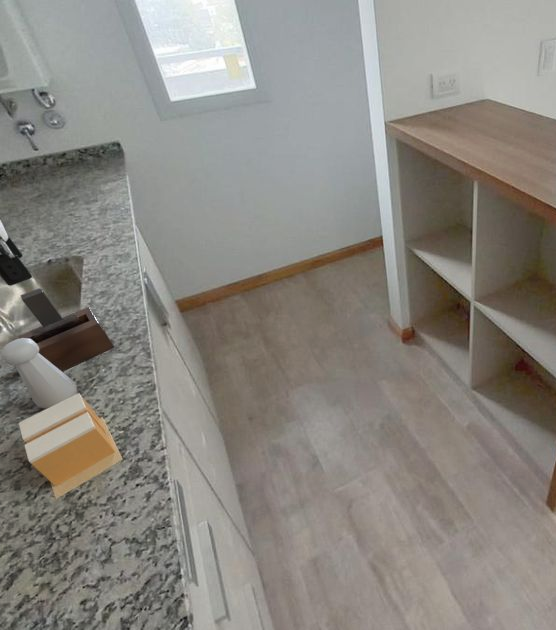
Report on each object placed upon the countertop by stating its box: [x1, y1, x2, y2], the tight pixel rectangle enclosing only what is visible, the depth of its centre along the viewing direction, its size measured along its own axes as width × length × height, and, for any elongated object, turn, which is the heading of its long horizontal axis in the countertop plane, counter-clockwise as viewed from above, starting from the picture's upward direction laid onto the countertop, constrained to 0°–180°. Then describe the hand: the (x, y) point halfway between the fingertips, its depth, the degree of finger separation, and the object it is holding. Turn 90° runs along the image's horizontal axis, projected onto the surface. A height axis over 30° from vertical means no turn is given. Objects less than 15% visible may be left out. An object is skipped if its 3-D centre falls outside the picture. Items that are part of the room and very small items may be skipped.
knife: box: [20, 287, 83, 342], centre depth 79 cm, size 7×2×14 cm, turn 134°
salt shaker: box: [0, 338, 78, 410], centre depth 69 cm, size 6×6×13 cm
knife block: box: [18, 306, 115, 373], centre depth 81 cm, size 11×7×6 cm, turn 134°
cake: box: [18, 392, 123, 500], centre depth 62 cm, size 8×11×7 cm
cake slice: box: [23, 412, 115, 486], centre depth 61 cm, size 8×4×6 cm, turn 134°
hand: (16, 270), depth 72 cm, fingers open, 9 cm apart
